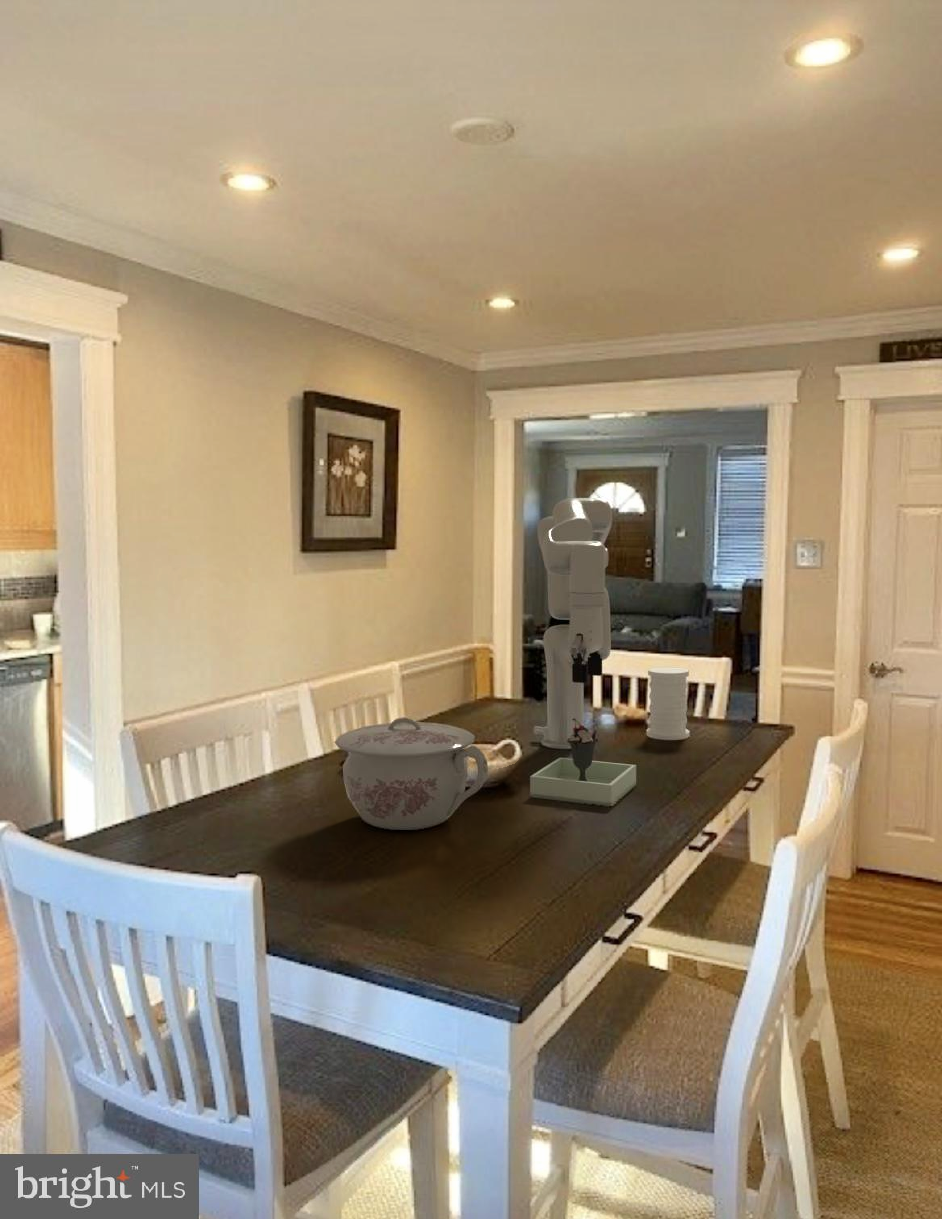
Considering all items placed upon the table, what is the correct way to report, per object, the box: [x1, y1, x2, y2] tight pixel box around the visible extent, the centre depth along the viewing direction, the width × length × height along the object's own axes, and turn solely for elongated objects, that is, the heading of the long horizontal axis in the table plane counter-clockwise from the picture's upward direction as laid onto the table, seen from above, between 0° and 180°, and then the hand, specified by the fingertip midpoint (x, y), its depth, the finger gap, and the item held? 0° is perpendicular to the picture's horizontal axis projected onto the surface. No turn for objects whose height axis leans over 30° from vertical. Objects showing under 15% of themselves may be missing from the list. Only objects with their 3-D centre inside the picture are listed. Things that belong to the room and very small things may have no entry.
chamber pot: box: [334, 717, 489, 831], centre depth 189 cm, size 28×28×21 cm
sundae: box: [567, 718, 599, 782], centre depth 211 cm, size 7×7×15 cm
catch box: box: [529, 757, 637, 807], centre depth 209 cm, size 18×18×4 cm
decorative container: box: [646, 666, 691, 741], centre depth 262 cm, size 12×12×18 cm
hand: (587, 678), depth 209 cm, fingers open, 9 cm apart
